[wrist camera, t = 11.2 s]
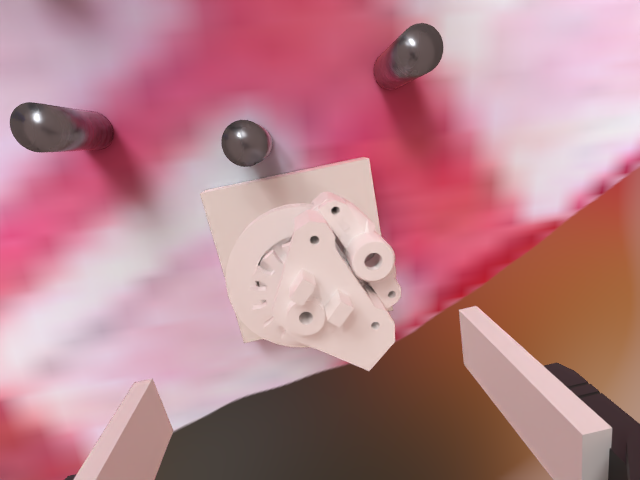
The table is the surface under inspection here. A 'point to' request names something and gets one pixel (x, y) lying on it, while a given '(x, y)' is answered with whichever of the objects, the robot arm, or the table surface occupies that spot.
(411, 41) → the standoff posts
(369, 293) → the mechanical part
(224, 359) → the table surface
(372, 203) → the parts stand
